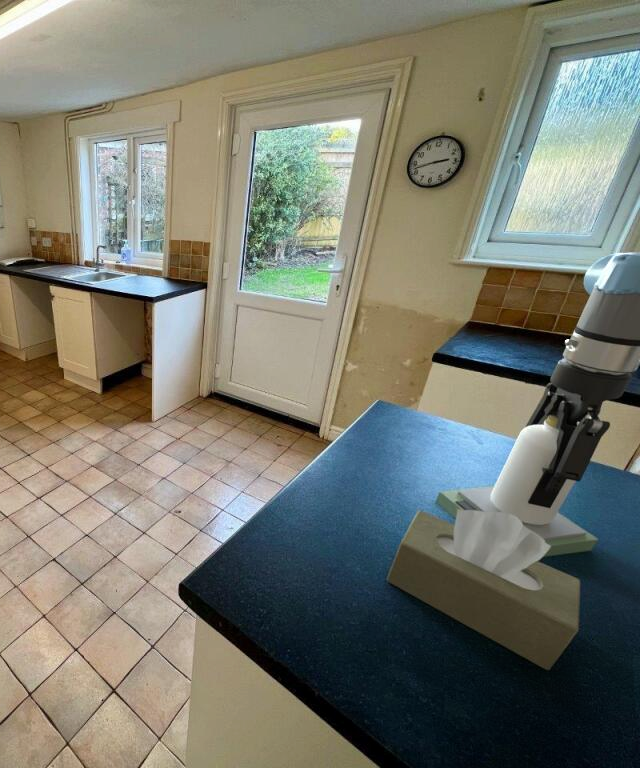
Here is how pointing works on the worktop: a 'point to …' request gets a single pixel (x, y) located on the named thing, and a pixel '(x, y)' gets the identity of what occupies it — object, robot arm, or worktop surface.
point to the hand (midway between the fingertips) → (529, 489)
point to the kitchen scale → (555, 533)
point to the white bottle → (529, 474)
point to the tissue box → (490, 581)
